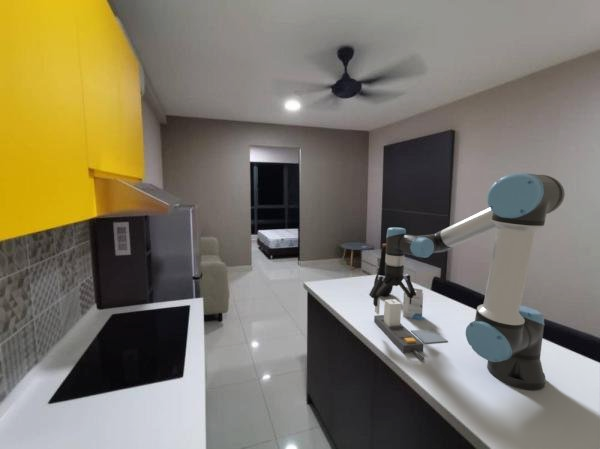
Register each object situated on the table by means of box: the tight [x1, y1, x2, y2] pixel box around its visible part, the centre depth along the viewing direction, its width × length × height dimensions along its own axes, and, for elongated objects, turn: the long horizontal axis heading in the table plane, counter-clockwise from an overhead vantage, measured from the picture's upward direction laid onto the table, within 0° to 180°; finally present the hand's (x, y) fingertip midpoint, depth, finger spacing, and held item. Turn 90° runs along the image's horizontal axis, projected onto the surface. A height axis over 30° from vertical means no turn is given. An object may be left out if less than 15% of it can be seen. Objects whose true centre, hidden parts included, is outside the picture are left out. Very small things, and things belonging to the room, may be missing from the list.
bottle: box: [373, 243, 394, 298], centre depth 164 cm, size 11×11×30 cm
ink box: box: [402, 286, 424, 321], centre depth 135 cm, size 8×5×15 cm, turn 62°
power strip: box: [373, 314, 425, 362], centre depth 115 cm, size 32×8×4 cm, turn 9°
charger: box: [383, 298, 402, 326], centre depth 121 cm, size 5×5×10 cm
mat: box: [410, 328, 448, 345], centre depth 117 cm, size 10×10×1 cm
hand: (391, 312), depth 121 cm, fingers open, 13 cm apart
